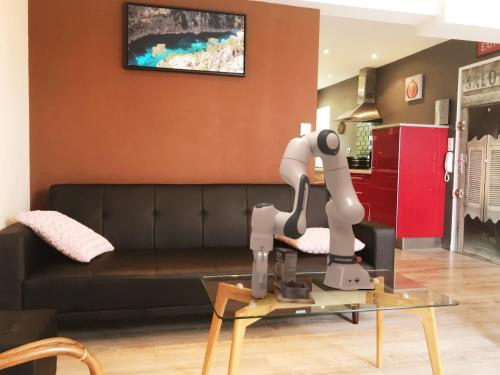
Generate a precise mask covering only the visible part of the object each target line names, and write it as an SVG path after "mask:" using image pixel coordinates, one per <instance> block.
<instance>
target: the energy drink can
mask: <svg viewBox="0 0 500 375" xmlns="http://www.w3.org/2000/svg"><path fill="white" fill-rule="evenodd" d="M251 272H252V274H251V291H250V295H251V296H254V297H257V298H263V297H265V298H266V296H267V294H268V293H267V291H268V277H269V276H268V274H269V262H268V261H267V273H266V274H264V276H263V282H262V283H258V273H257V270H256V258H255V260H254V259H253V262H252V271H251Z"/></svg>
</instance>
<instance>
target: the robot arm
mask: <svg viewBox="0 0 500 375" xmlns="http://www.w3.org/2000/svg"><path fill="white" fill-rule="evenodd" d="M340 141H341V140H340V137H339V135H338V134H337V132H336V131H335V130H333V129H327V128H326V129H322V130H315V131H311V132H309V133H305V134H302V135H300V136H299V137H294V138H292V139H291V140H290V141H289V142H288V144H287V145H286V148H285V150H284V152H283V156H282V158H281V162H280V164H279V168H278V169H279V171H278V172H279V173H278V174H279V176H280V177H281V179H282V180H283V181H284V182H285V183H286V184H288V185H290V186H291V187H292V188H294V191H295V192H294V193H295V195H294V202H293V209H292V211H291V212H286V211H285V212H284V211H281V210H278V209H277V208H275V206H274V204H273V203H271V202H260V203H256V204H255V205H254V207H253V209H252V214H251V223H250V224H251V227H250V228H251V233H250V244H249V249H250V250H252V254H253V261H254V260H255V258H256V270H257V273H258V283H262V282H263V276H264V274H266V273H267V262H268V255H269V254H270V252H271V251H273V247H274V235H275V236H278V237H279V236H280V237H285V238H288V239H290V240H295V241H296V240H299V239H300V238H302V237H304V235H305V233H306V232H307V229H308V228H307V227H308V221H307V220H308V216H307V215H308V208H309V207H308V206H309V202H310V201H309V200H310V193H311V192H310V190H311V181H310V178H309V176H308V174H307V171H308V167H309V163H310V159H311V158H313V159H314V158H320V159H321V163H322V170H323V174H324V180H325V185H326V189H327V190H328V192H329V194H330V196H331V199H330V200H329V201H328V202H326V204H325V213H326V216H327V223H328V230H329V244H328V245H329V246H328V248H329V249H328V253H327V257H326V263H327V264H326V265H327V269H326V273H325V276H324V279H323V284H324V285H325V286H327V287H330V288H334V289H339V290H341V291H354V290H353V289H372V288H375V289H376V286H375V285H374V284H373V282H371V277H370V274H369V272H368V271H367V270H366V269H365V268H364V267H363V266H361V264H359V263H361V262H362V260H363V259H362V258H361V256H358V255H356V254H355V245H356V236H355V234H354V231H353V226H352V225H356V224H359V223H361V222H362V221H363V219H364V218H365V212H366V211H365V208H364V206H363V204H362V203H361V202H360V200H359V198H358V195H357V192H356V191H355V188H354V185H353V181H352V176H351V172H350V167H349V163H348V157H347V155H346V152H345V150H344V148H343V146H342V144H341V142H340ZM372 286H375V287H372Z"/></svg>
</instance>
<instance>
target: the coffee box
mask: <svg viewBox="0 0 500 375" xmlns="http://www.w3.org/2000/svg"><path fill="white" fill-rule="evenodd" d="M274 250H275V251H274V264H273V265H274V267H273V282H272V283H273V286H275V287H277V288H279V289H280V283H281V281H282V282H296V278H297V277H296V276H297V263H298V251H296V250H293V249H290V248H288V247H285V248H284V247H275V248H274Z"/></svg>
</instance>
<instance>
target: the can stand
mask: <svg viewBox="0 0 500 375" xmlns="http://www.w3.org/2000/svg"><path fill="white" fill-rule="evenodd" d="M274 295H275V297H276V300H277V303H282V304H307V305H315V304H316V300H315V299H314V297H313V296H312V294H311V293H310V288H309V286H308V285H307V283H306V282H304V281H303V282H302V281H301V282H300V281H295V282H282V281H281V283H280V288H279V289H274Z"/></svg>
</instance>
